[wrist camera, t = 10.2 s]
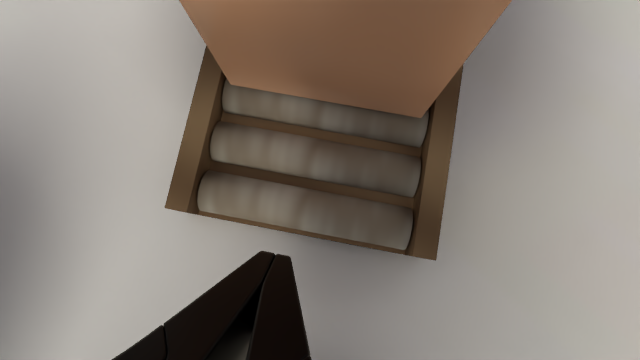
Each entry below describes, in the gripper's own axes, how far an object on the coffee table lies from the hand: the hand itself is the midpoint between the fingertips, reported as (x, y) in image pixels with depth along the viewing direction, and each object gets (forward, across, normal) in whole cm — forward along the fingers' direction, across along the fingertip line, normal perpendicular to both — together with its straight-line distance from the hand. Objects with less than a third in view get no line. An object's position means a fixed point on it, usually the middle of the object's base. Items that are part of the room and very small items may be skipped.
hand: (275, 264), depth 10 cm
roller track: (+12, 0, 0) cm, 12 cm away
